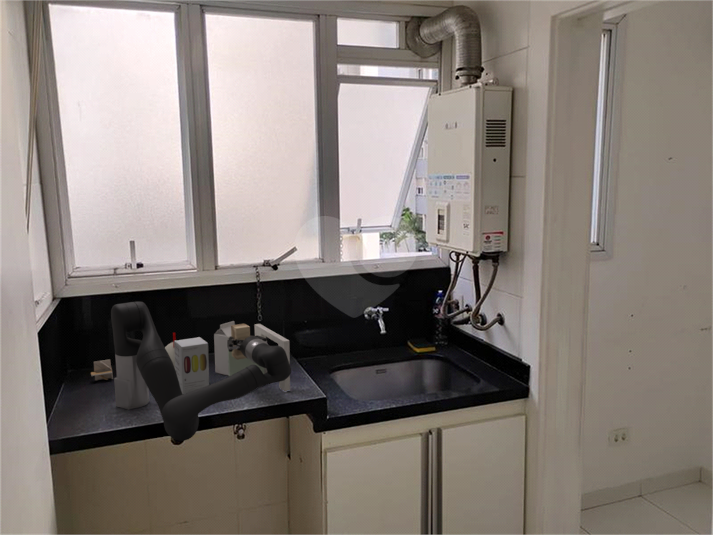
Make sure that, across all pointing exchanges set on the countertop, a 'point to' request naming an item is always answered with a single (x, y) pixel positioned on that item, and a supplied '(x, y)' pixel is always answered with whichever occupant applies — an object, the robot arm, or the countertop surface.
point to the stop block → (239, 332)
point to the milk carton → (222, 348)
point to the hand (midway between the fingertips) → (238, 338)
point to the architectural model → (102, 370)
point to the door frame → (281, 341)
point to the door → (240, 364)
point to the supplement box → (191, 363)
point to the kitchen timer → (171, 349)
